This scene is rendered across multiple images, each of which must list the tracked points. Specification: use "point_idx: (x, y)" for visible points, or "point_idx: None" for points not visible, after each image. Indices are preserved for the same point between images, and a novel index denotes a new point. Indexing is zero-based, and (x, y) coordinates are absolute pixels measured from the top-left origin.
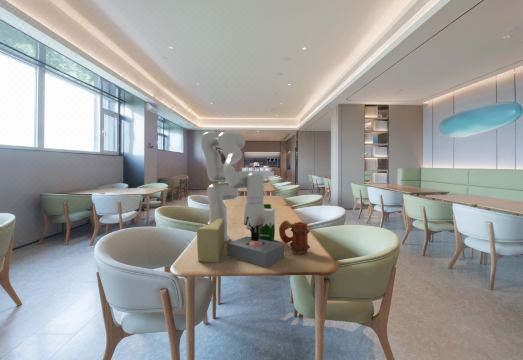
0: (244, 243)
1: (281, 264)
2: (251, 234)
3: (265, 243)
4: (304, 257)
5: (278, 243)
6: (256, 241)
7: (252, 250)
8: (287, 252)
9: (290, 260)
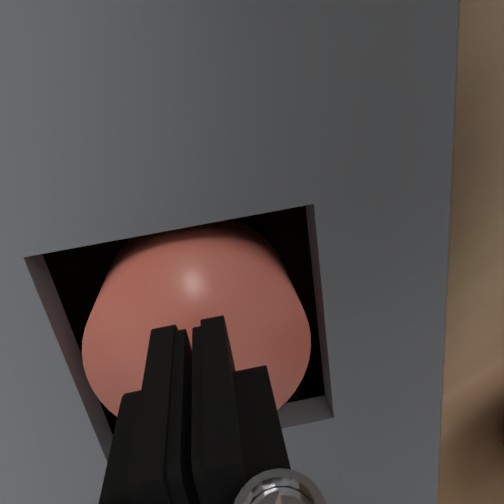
0: (44, 220)
1: None
2: (142, 415)
3: (330, 401)
4: (469, 495)
5: (425, 496)
6: (272, 304)
7: (1, 488)
8: (501, 361)
9: None
